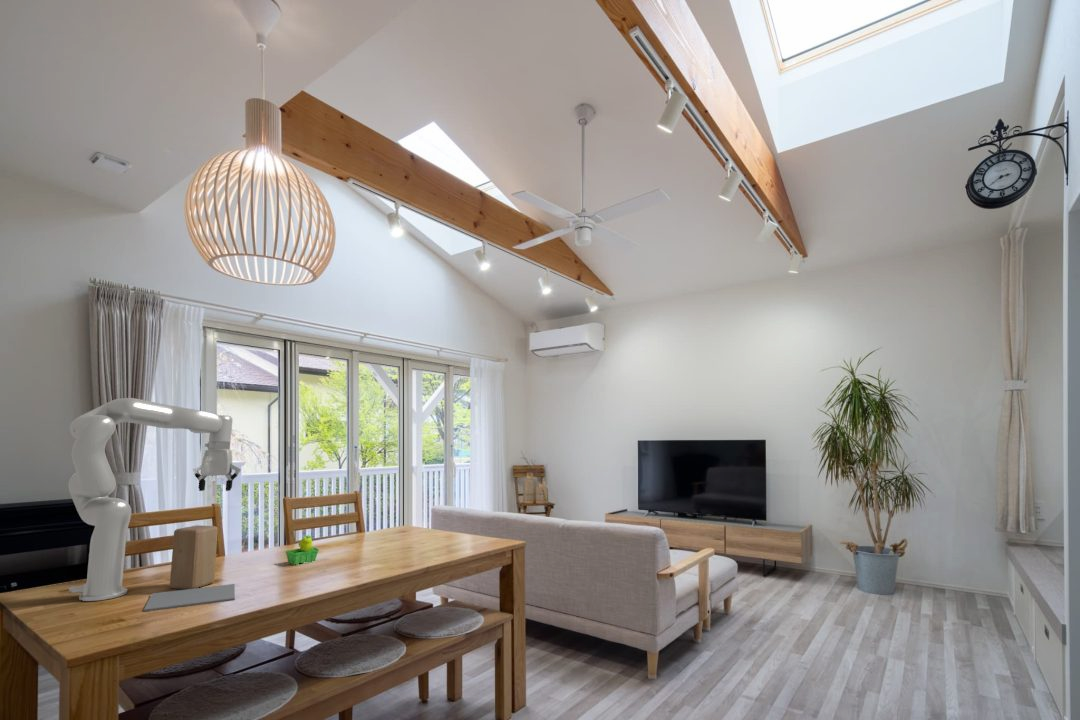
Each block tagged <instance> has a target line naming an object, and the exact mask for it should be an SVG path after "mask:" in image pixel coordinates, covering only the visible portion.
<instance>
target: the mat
mask: <svg viewBox="0 0 1080 720" xmlns="http://www.w3.org/2000/svg"><path fill="white" fill-rule="evenodd" d="M235 592H236V591H235V583H232V584H231V583H230V584H224V585H213V586H203V587H200V588H195V589H177V590H170V591H162V592H161V591H160V592H154V593H153V592H152V593H151V595H150V597H149V599H148V601H147V603H146V605H145V607H144V608H143V612H144V611H145V612H151V611H150V610H153V611H160V610H159V609H161V610H169V609H176V608H184V607H190V606H199V605H205V604H206V605H207V603H208V604H215V603H222V602H230V601H235V600H236V599H235V594H236V593H235Z"/></svg>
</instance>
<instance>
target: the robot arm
mask: <svg viewBox="0 0 1080 720" xmlns="http://www.w3.org/2000/svg"><path fill="white" fill-rule="evenodd" d="M120 423H130V424H136V425H142V426H143V425H144V426H150V427H153V428H154V427H155V428H161V429H182V430H188V431H190V432H191V433H194V434H209V438H208V442H207V443H204V447H205V448H207V449H205V451H204V453H203V458H202V461H201V465H198V466H197V467H195V468H192V472H193V474H194V476H195V477H196V479H197V480H198V490H199V491H200V492H203V491H205V488H206V480H205V479H206V478H207V477H209V476H211V477H212V476H214V477H215V476H221V477H222V476H224V477H225V478H226V479H227V480H226V482H225V491H226V492H229V491H231V489H232V488H233V482H234V480H235V479H236V478H237V477H238V475H239V473H240V472H241V468H240V467H238V466H236V465H234V464H233V453H232V450H231V440H232V429H233V428H232V427H233V417H232V416H230V415H224V414H223V415H221V414H220V415H219V414H216V413H213V412H209V411H204V410H198V409H194V408H187V407H181V406H176V405H170V404H164V403H160V402H154V401H152V400H151V401H150V400H145V399H141V398H135V397H125V398H123V397H122V398H115V399H113V400H110V401H108V402H106V403H104V404H101V405H100V406H98V407H96V408H94V409H92V410H90V411H88V412H85V413H83V414H81V415H79V416H78V417H76V418H75V419H74V420H73V421H72V422H71V424H70V427H69V433H70V434H71V436H72V437H73V438H74V439H75V440H74V443H73V445H72V448H71V449H72V450H71V461H72V463H73V466H74V470H75V472H74V473H73V474H72V476H71V477H70V479H69V480H68V492H69V495H70V497H71V499H72V501H73V504H74V506H75V509H76V511H77V513H78V515H79V517H80V519H81V520H82V521H83V523H86V524H87V525H89V526H93V527H94V529H93V531H92V534H91V537H90V543H89V553H88V564H87V574H86V577H87V578H86V582H85V583H84V584H81V585H75V586H69V589H68V594H78V593H81V594H79V595H78V599H79V601H81V600H82V602H95V601H104V600H110V599H114V598H119V597H122V596H125V595H126V594H127V593H128V588H126V587H123V578H124V566H125V557H126V556H125V555H126V554H125V553H126V544H127V535H128V530H129V524H130V521H131V518H132V507H131V505H130V504H129V503H128V502H127V501H126V500H125V499H122V498H118V497H111V496H110V495H111V494H112V493H114V491H115V489H116V487H117V480H116V477H115V475H114V473H113V471H112V469H111V465H110V463H109V461H108V458H107V455H106V445H107V443H108V441H109V439H111V437H112V436H113V435H114V433H115V430H116V426H117V425H119V424H120ZM199 471H200V472H199ZM233 471H234V473H233V474H232V472H233Z"/></svg>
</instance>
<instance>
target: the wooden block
mask: <svg viewBox="0 0 1080 720" xmlns="http://www.w3.org/2000/svg"><path fill="white" fill-rule="evenodd" d="M218 530H219V528H218V527H217V526H215V525H199V524H198V525H197V524H196V525H192V526H186V527H182V528H180V527H179V528H176V529H175V530H174V532H173V540H172V553H171V554H172V555H171V566H170V567H171V568H170V580H169V587H170V589H173V588H174V590H187V589H195V588H199V587H200V588H203V587H206V586H208V584H209V585H212V584H213V583H215V575H216V560H217V547H218V545H217V544H218V534H219V533H218ZM205 585H206V586H205ZM202 586H203V587H202Z"/></svg>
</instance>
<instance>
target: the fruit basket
mask: <svg viewBox="0 0 1080 720" xmlns="http://www.w3.org/2000/svg"><path fill="white" fill-rule="evenodd" d="M313 545H314V543H313V541H312V536H311V535H308V534H307V535H305V536H304V537H302V539H300V541H299V542H298V547H299V548H296V549H290V550H285V554H286V558H287V562H288V564H289V563H291V564H290V565H292V564H294V565H293V566H296V565H295V564H299V563H304V562H310V561H315V562H316V559H317V557H318V553H319V551H320V549H319V548H316V547H313ZM310 563H311V562H310ZM304 564H305V563H304ZM299 565H300V564H299Z"/></svg>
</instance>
